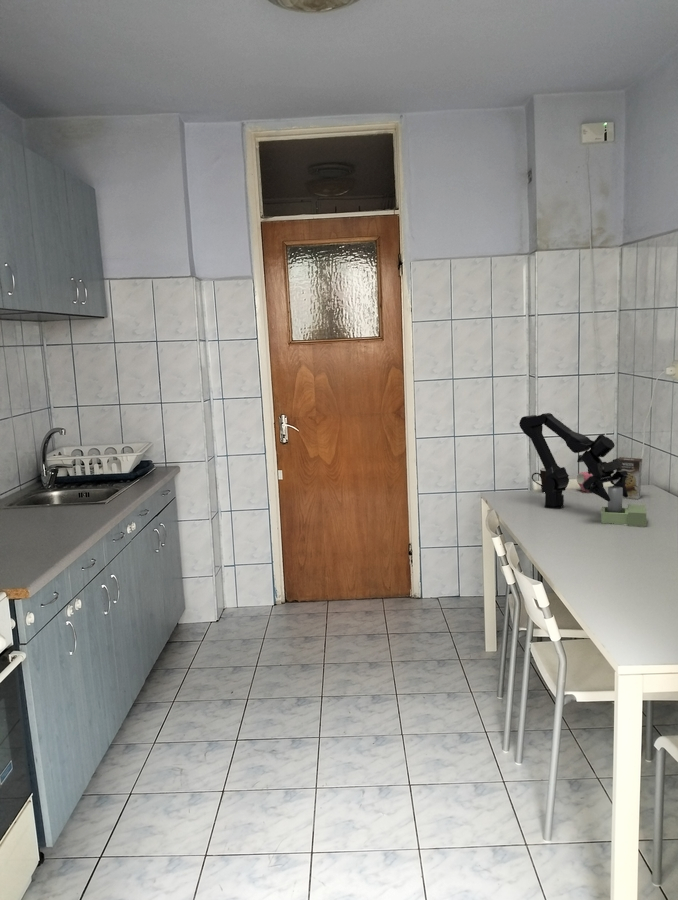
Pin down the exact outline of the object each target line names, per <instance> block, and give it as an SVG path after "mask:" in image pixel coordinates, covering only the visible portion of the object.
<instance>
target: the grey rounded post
mask: <svg viewBox="0 0 678 900" xmlns="http://www.w3.org/2000/svg"><path fill="white" fill-rule="evenodd" d="M607 494H608V495H609V497H610V499H611V500H610V501H609V502H608V501H607V507H608V512H611V513H622V508H623V498H622V496H623V488H622V487H618V486H613V485H611V486H608V487H607Z"/></svg>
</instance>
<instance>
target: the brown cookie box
mask: <svg viewBox="0 0 678 900" xmlns="http://www.w3.org/2000/svg"><path fill="white" fill-rule="evenodd" d="M618 458H619V459H620V460H621V462H622V466H621V469H617V470H615V471H616V472H617V471H621V470H625V471H626V472H627V473H628V476H627V479H626V480H625V486H626V490H627V494H628V497H627V498H625V497H624V496H622V499H629V498H630V499H629V500H639V499H640V497H641V495H642V494H641V492H642V489H641V488H642V469H643V459H642V458H639V457H637V458H635V457H625V456H623V457H622V456H620V457H618ZM616 472H615V473H616Z"/></svg>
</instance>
